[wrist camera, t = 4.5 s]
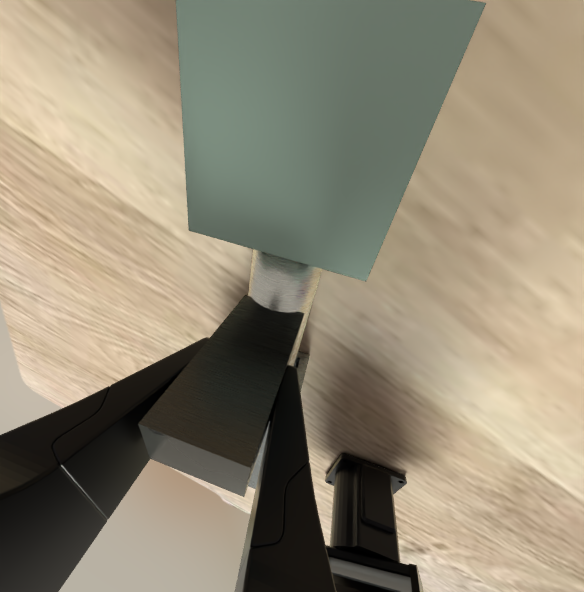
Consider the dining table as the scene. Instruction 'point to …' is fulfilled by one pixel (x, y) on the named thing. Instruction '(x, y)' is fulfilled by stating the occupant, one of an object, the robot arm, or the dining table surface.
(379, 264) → the dining table surface
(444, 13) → the socket block
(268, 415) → the tube
